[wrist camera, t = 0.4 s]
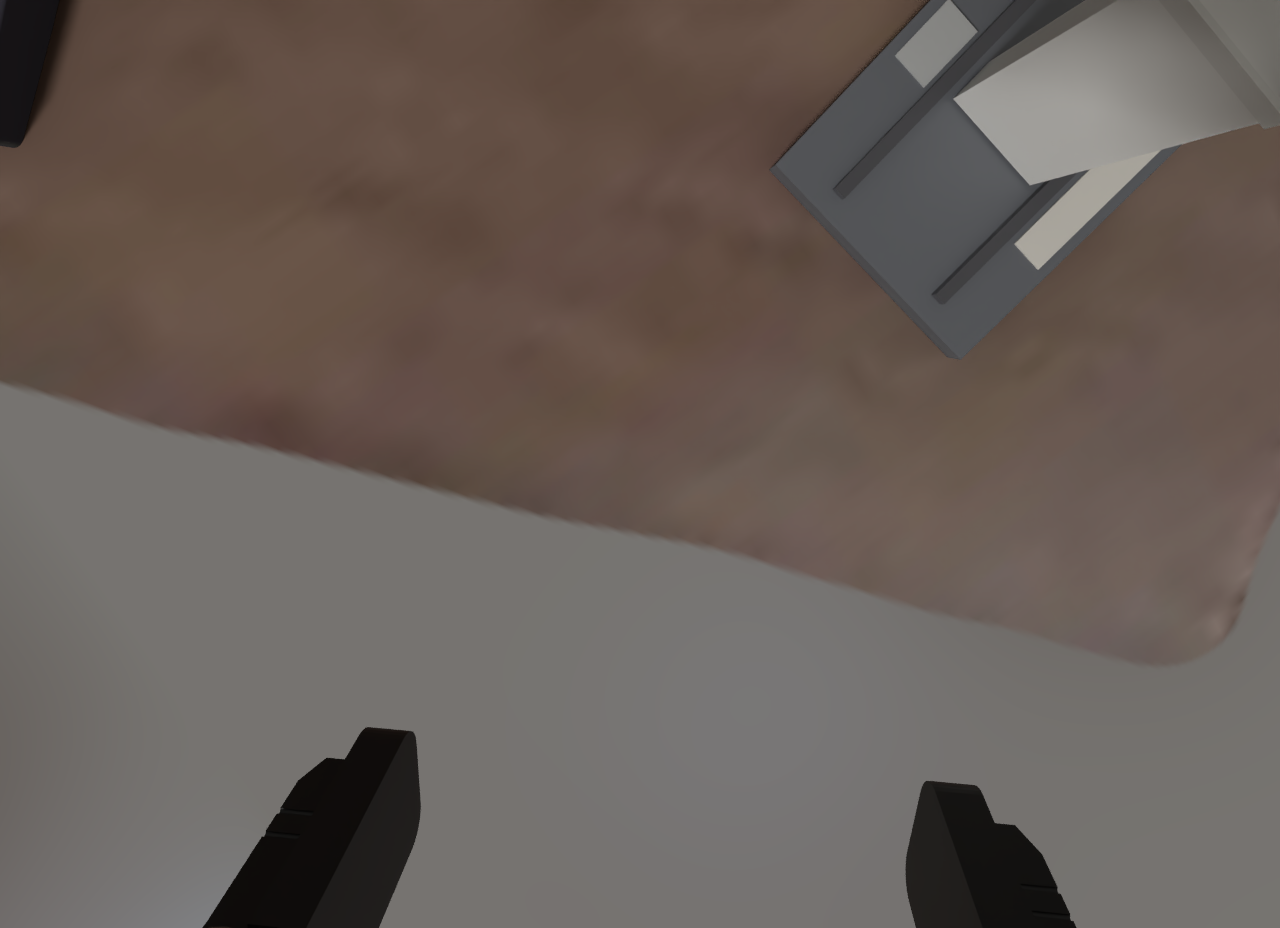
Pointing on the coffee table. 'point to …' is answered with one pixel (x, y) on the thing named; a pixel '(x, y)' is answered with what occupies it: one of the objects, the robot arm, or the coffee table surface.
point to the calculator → (21, 61)
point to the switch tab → (1128, 82)
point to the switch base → (946, 177)
